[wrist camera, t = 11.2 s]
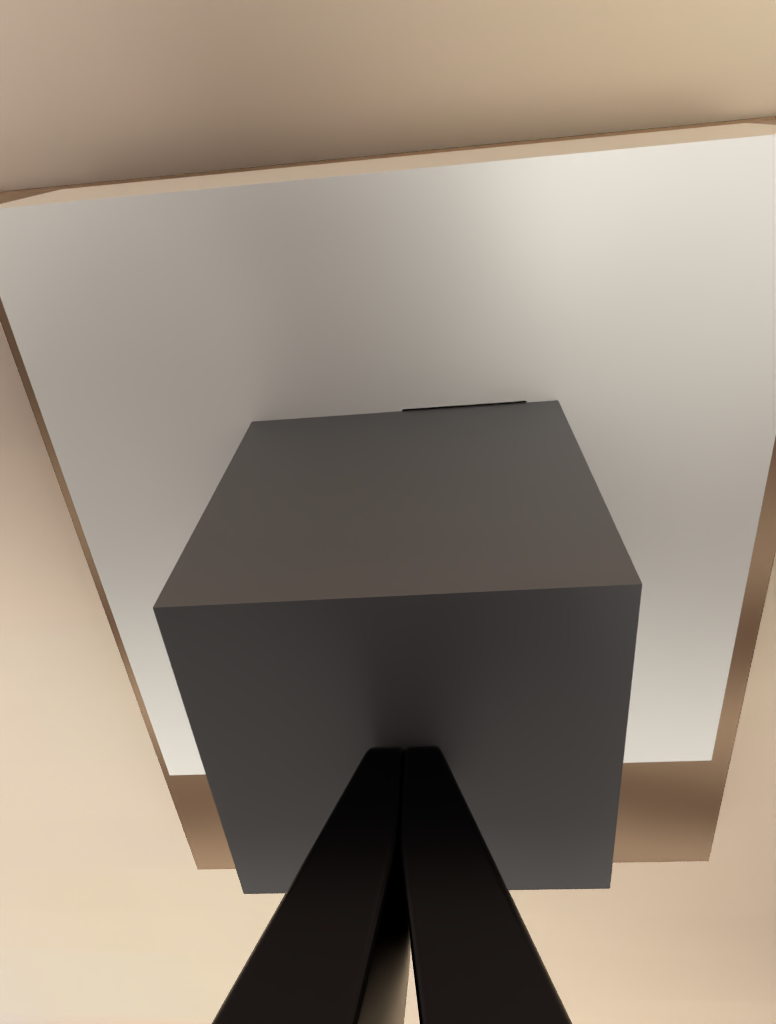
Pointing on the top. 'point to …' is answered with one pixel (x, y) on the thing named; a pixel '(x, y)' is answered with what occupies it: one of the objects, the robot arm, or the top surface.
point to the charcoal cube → (410, 632)
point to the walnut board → (644, 785)
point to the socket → (424, 357)
